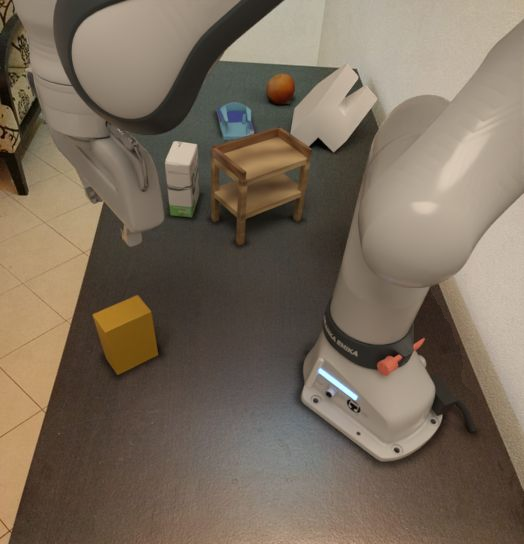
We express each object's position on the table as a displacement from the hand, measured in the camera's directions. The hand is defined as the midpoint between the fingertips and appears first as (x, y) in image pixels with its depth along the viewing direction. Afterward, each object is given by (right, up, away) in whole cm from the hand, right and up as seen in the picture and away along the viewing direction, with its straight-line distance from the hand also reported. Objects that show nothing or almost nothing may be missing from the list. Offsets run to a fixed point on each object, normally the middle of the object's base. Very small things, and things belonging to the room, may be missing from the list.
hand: (113, 220), depth 55 cm
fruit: (+22, +55, +78) cm, 98 cm away
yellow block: (-3, -16, +18) cm, 24 cm away
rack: (+16, +12, +42) cm, 47 cm away
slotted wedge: (+35, +40, +66) cm, 85 cm away
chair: (+11, +30, +57) cm, 65 cm away
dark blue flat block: (+10, +44, +68) cm, 81 cm away
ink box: (+1, +15, +44) cm, 46 cm away
